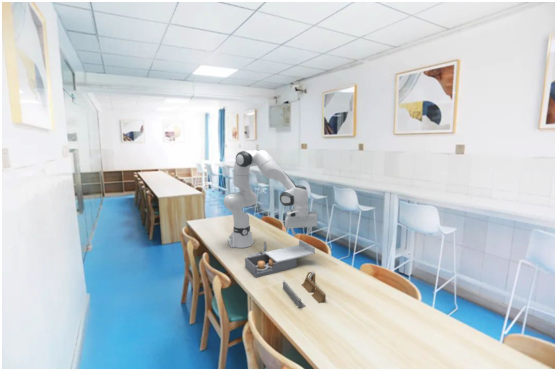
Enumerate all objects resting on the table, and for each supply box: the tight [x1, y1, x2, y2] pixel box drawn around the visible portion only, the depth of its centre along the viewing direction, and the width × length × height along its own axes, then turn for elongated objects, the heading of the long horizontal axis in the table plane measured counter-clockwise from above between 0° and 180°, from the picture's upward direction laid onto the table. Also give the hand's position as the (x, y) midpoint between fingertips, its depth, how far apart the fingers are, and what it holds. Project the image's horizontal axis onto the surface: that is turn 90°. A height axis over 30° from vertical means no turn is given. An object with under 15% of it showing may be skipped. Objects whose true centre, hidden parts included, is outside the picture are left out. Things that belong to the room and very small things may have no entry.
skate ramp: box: [282, 271, 327, 309], centre depth 140 cm, size 29×35×8 cm
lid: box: [265, 239, 316, 263], centre depth 173 cm, size 16×26×4 cm, turn 118°
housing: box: [244, 254, 298, 279], centre depth 168 cm, size 16×26×6 cm, turn 118°
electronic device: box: [247, 241, 268, 258], centre depth 185 cm, size 5×10×15 cm
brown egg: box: [258, 261, 265, 270], centre depth 165 cm, size 4×4×4 cm
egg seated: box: [269, 258, 276, 267], centre depth 168 cm, size 4×4×4 cm
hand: (301, 234), depth 175 cm, fingers open, 8 cm apart
